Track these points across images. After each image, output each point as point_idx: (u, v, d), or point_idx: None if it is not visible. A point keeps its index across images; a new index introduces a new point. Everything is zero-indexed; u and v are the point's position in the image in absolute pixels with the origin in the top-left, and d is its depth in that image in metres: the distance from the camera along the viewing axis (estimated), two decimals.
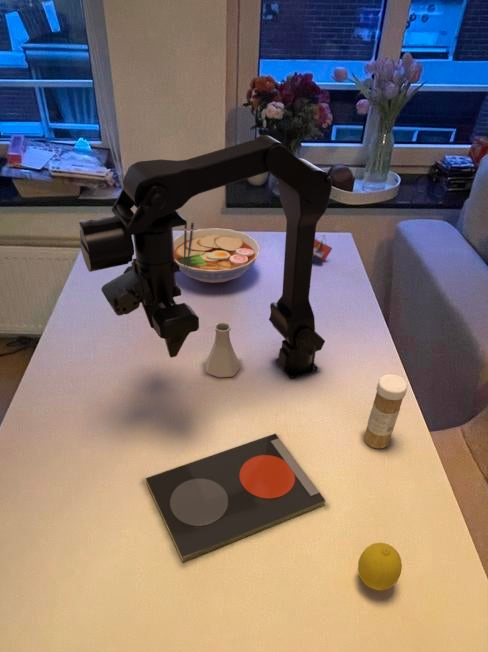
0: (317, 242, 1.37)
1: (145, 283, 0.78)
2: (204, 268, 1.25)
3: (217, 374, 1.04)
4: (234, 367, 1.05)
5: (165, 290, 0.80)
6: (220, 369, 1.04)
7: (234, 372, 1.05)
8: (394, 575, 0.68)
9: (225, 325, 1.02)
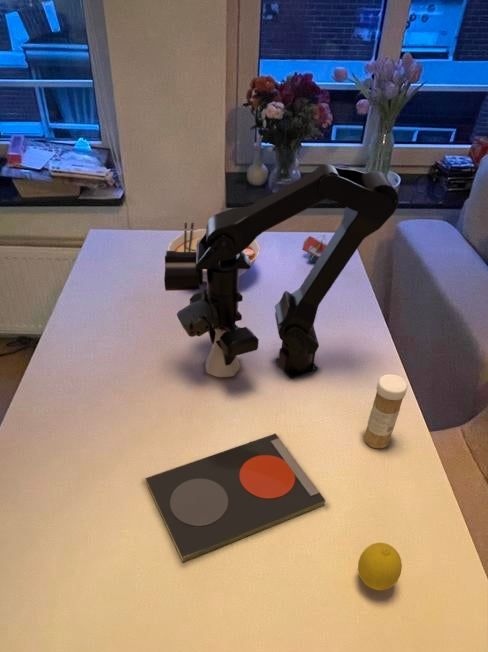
0: (317, 242, 1.37)
1: (214, 311, 0.94)
2: None
3: (217, 374, 1.04)
4: (234, 367, 1.05)
5: (230, 316, 0.96)
6: (220, 369, 1.04)
7: (234, 372, 1.05)
8: (394, 575, 0.68)
9: None
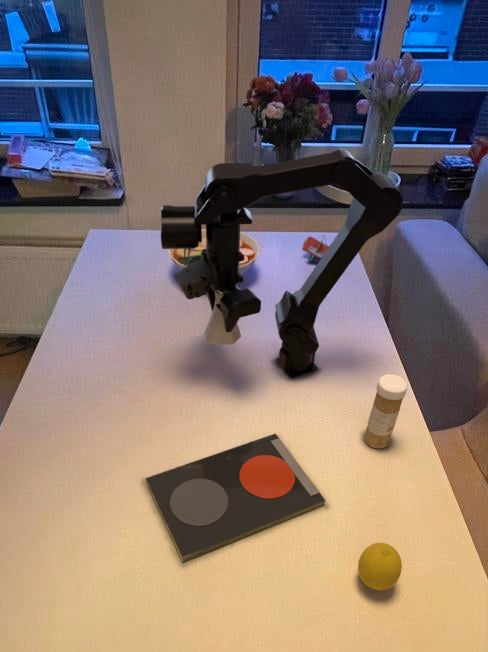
0: (317, 242, 1.37)
1: (214, 271, 0.88)
2: None
3: (217, 342, 0.99)
4: (235, 335, 0.99)
5: (230, 277, 0.90)
6: (220, 336, 0.98)
7: (235, 340, 1.00)
8: (394, 575, 0.68)
9: None
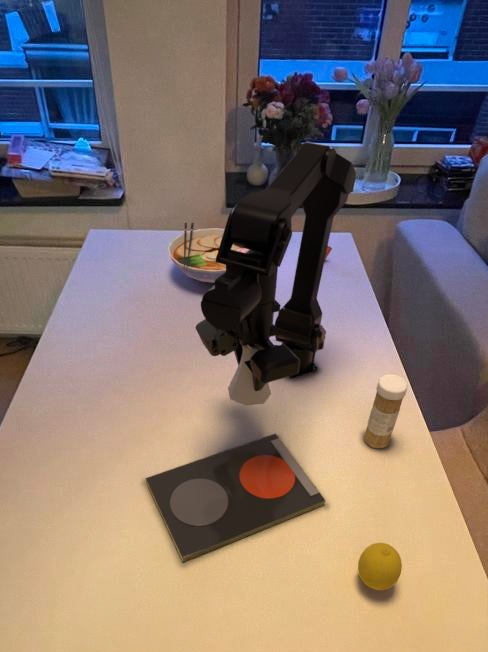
0: None
1: (244, 324, 0.73)
2: (204, 268, 1.25)
3: (243, 401, 0.84)
4: (265, 393, 0.84)
5: (263, 330, 0.75)
6: (247, 395, 0.83)
7: (265, 399, 0.84)
8: (394, 575, 0.68)
9: None
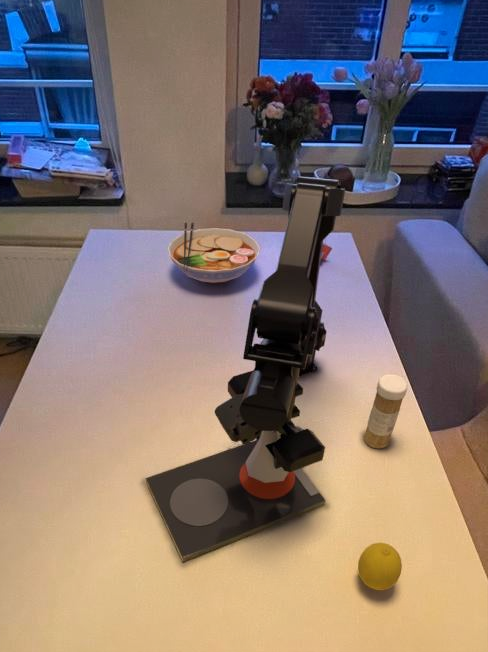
0: None
1: None
2: (204, 268, 1.25)
3: (263, 479, 0.81)
4: None
5: None
6: (267, 473, 0.80)
7: (285, 475, 0.81)
8: (394, 575, 0.68)
9: None
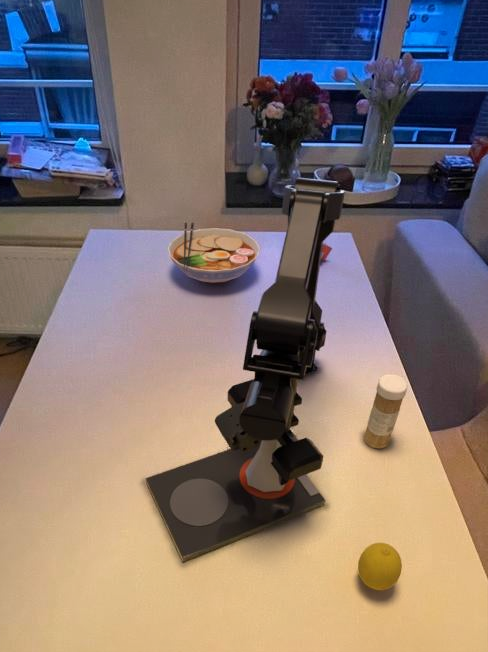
0: None
1: None
2: (204, 268, 1.25)
3: (262, 488, 0.82)
4: None
5: None
6: (266, 482, 0.82)
7: None
8: (394, 575, 0.68)
9: None
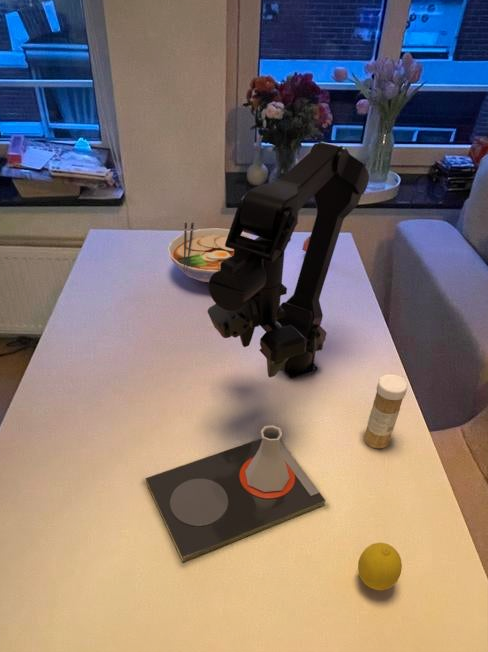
0: None
1: (254, 307, 0.78)
2: (204, 268, 1.25)
3: (262, 488, 0.82)
4: (284, 478, 0.83)
5: (271, 313, 0.80)
6: (266, 482, 0.82)
7: (283, 484, 0.83)
8: (394, 575, 0.68)
9: (273, 429, 0.79)
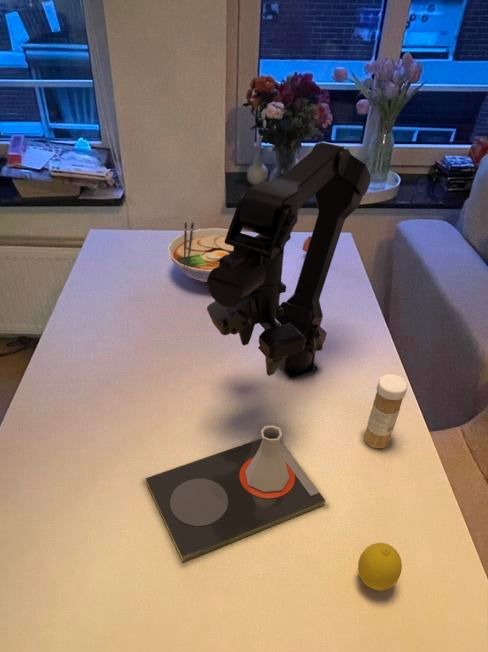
0: None
1: (253, 304, 0.78)
2: (204, 268, 1.25)
3: (262, 488, 0.82)
4: (284, 478, 0.83)
5: (270, 310, 0.80)
6: (266, 482, 0.82)
7: (283, 484, 0.83)
8: (394, 575, 0.68)
9: (273, 429, 0.79)
